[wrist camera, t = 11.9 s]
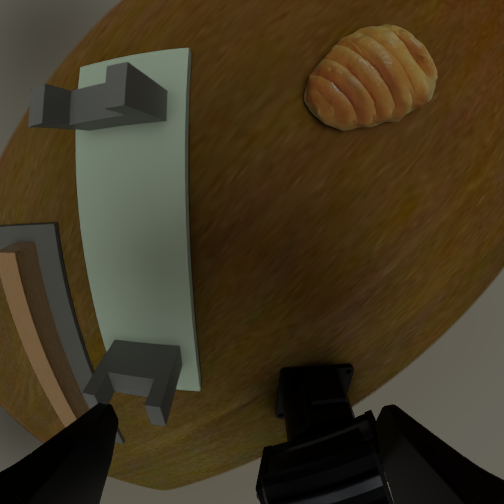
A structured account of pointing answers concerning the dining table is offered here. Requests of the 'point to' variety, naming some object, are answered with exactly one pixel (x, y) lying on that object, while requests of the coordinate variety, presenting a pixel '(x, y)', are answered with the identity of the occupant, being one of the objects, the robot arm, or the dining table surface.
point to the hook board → (134, 219)
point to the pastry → (371, 79)
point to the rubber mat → (56, 294)
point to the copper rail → (39, 329)
